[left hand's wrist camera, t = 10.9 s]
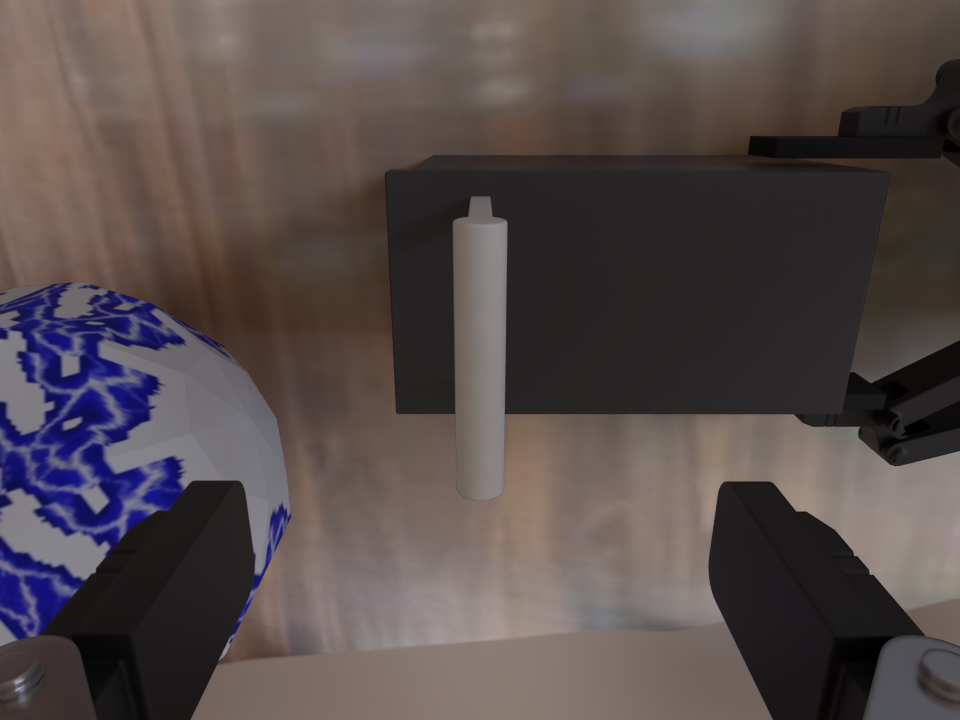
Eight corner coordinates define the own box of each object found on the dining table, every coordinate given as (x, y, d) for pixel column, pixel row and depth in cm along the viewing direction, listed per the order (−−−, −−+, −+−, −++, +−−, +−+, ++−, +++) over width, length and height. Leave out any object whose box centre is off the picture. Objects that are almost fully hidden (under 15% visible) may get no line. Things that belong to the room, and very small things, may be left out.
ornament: (378, 734, 27) (-17, 879, 30) (361, 401, 42) (98, 518, 45) (-69, 468, 14) (-686, 764, 17) (133, 124, 29) (-216, 312, 32)
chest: (436, 333, 36) (422, 401, 28) (432, 155, 33) (415, 169, 25) (744, 334, 36) (826, 402, 28) (770, 155, 33) (871, 169, 25)
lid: (399, 402, 28) (365, 521, 20) (389, 169, 25) (343, 196, 16) (827, 402, 28) (971, 522, 20) (872, 169, 25) (1068, 196, 16)
